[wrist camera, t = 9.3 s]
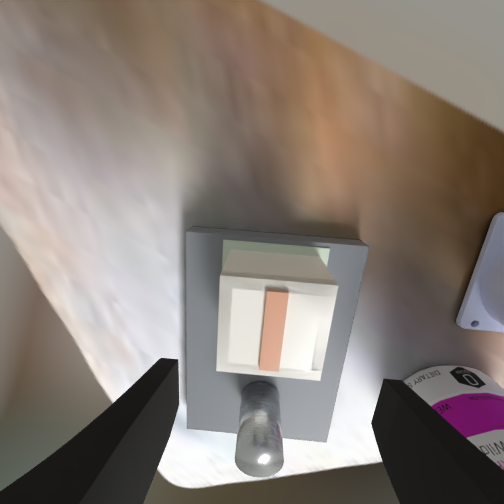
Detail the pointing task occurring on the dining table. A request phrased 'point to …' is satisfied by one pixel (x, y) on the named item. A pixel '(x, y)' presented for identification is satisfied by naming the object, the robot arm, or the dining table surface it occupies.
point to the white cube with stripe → (274, 314)
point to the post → (259, 430)
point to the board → (290, 389)
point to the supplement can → (466, 404)
